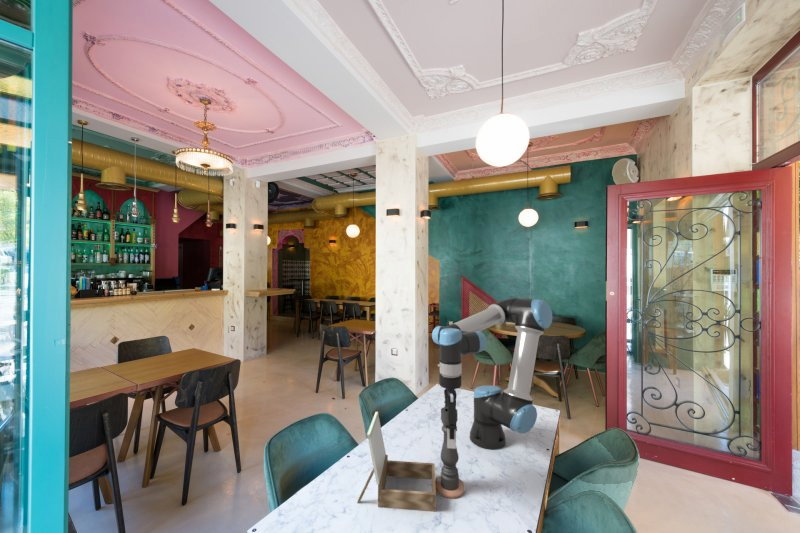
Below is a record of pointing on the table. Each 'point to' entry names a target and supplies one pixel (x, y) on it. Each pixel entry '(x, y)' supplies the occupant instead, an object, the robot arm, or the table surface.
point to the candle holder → (448, 458)
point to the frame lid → (376, 446)
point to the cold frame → (404, 497)
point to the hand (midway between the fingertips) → (449, 436)
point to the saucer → (448, 493)
